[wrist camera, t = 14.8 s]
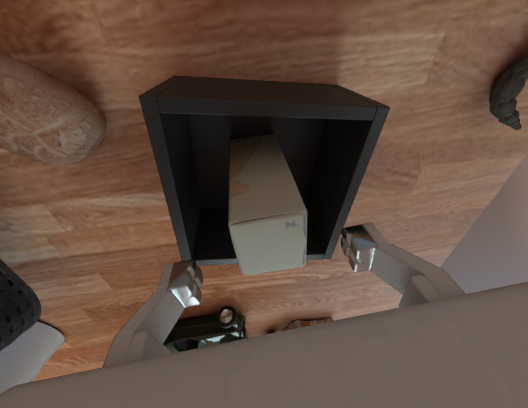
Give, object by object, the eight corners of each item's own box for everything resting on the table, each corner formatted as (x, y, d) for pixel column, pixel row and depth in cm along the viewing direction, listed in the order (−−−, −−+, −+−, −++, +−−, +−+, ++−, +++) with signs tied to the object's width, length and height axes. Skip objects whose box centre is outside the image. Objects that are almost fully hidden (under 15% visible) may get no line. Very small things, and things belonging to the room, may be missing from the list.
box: (229, 138, 19) (224, 219, 11) (275, 132, 19) (310, 207, 11) (238, 186, 23) (241, 279, 14) (278, 181, 23) (307, 269, 14)
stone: (333, 313, 46) (340, 340, 43) (329, 314, 48) (335, 340, 46) (277, 323, 44) (281, 352, 41) (275, 323, 46) (279, 351, 44)
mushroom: (-5, 118, 18) (82, 182, 20) (-128, 105, 12) (13, 198, 14) (43, 44, 17) (131, 120, 19) (-66, -9, 11) (78, 109, 13)
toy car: (250, 323, 44) (252, 350, 40) (156, 342, 44) (148, 371, 40) (238, 301, 38) (239, 330, 34) (130, 323, 38) (119, 355, 35)
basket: (195, 210, 25) (183, 266, 19) (173, 75, 17) (138, 95, 10) (308, 208, 27) (331, 259, 20) (338, 84, 18) (391, 107, 12)
